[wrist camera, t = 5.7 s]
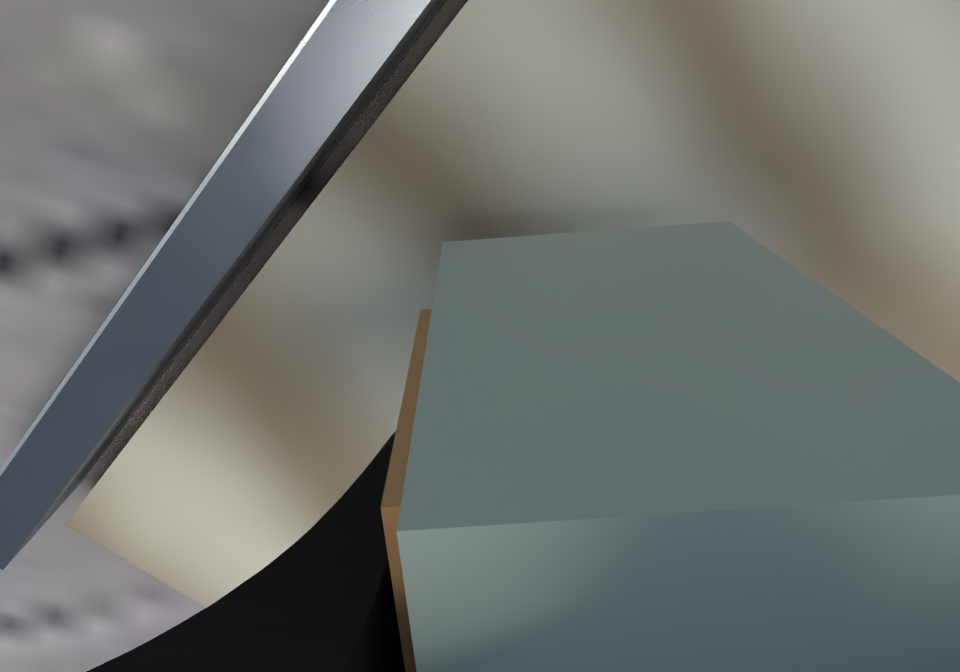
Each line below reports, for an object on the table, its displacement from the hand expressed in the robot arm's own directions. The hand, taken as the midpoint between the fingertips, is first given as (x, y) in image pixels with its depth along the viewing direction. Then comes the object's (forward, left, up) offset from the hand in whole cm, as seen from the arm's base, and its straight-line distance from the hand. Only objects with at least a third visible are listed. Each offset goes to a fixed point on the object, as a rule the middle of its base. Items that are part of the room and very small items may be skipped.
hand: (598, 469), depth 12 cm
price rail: (0, -7, -7) cm, 10 cm away
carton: (0, 0, -2) cm, 2 cm away
